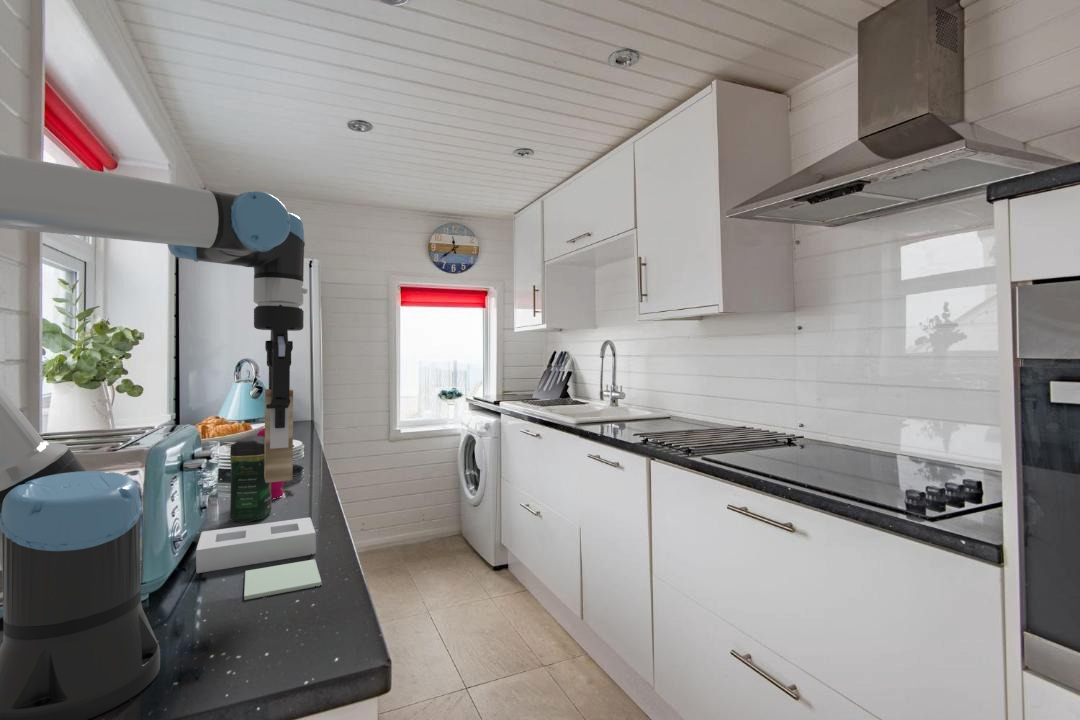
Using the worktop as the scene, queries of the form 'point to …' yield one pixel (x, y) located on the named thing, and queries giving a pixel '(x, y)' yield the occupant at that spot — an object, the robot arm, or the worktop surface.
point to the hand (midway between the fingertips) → (278, 445)
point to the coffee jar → (249, 480)
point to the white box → (255, 544)
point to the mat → (281, 579)
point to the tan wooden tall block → (278, 458)
